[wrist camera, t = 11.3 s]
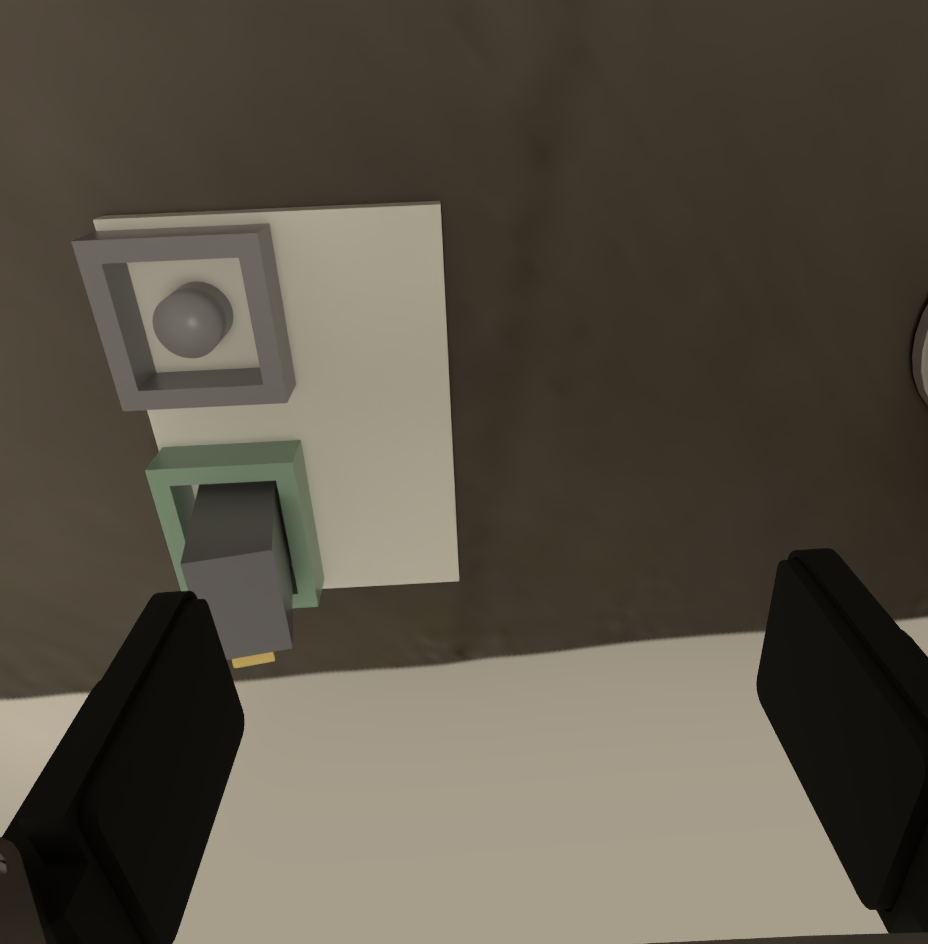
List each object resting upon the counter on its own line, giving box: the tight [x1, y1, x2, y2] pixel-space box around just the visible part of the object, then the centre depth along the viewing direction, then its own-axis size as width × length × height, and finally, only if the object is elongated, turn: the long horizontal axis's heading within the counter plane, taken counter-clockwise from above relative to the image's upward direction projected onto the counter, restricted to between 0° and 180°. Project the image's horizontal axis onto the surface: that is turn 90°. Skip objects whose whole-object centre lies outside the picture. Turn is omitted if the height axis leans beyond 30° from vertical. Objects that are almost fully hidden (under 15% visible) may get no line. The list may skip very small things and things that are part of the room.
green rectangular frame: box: [145, 440, 324, 608], centre depth 38 cm, size 8×10×3 cm
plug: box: [180, 481, 293, 668], centre depth 36 cm, size 4×7×8 cm, turn 3°
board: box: [71, 201, 459, 589], centre depth 36 cm, size 16×22×4 cm
